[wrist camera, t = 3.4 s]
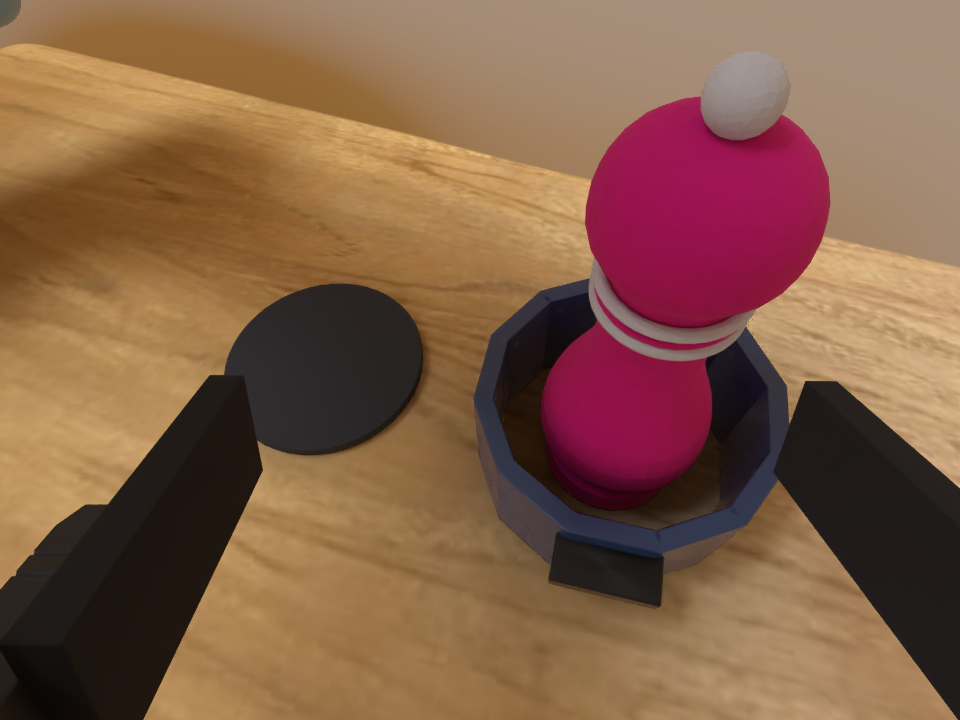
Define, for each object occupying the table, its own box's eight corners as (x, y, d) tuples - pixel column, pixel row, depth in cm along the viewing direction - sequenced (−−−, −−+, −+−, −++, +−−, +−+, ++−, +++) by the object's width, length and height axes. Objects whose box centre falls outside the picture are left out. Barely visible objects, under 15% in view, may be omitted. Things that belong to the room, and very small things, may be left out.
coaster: (194, 358, 32) (189, 352, 32) (353, 262, 36) (351, 255, 35) (290, 498, 28) (286, 493, 27) (462, 371, 31) (461, 365, 31)
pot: (446, 580, 25) (432, 546, 20) (516, 309, 33) (518, 236, 28) (737, 653, 23) (802, 635, 18) (736, 345, 31) (780, 274, 26)
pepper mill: (564, 370, 31) (637, -45, 14) (695, 417, 29) (959, 5, 12) (513, 484, 27) (530, 116, 11) (658, 546, 26) (953, 219, 9)
